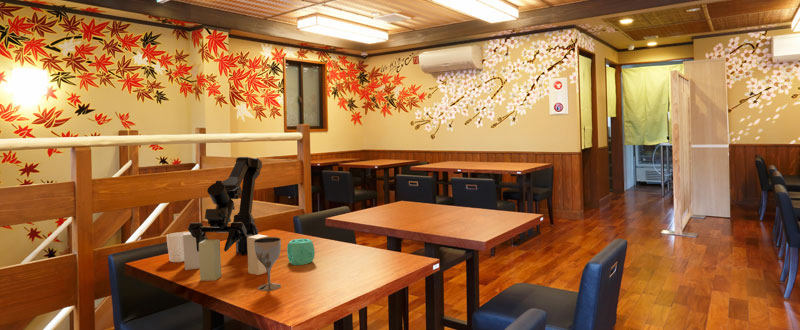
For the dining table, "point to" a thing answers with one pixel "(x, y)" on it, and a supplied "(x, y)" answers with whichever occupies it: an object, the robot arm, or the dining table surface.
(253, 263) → the cream block
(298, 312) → the dining table surface
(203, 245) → the sage block
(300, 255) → the decorative dice
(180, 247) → the white cup
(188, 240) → the pale pink tall block
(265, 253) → the wine glass
